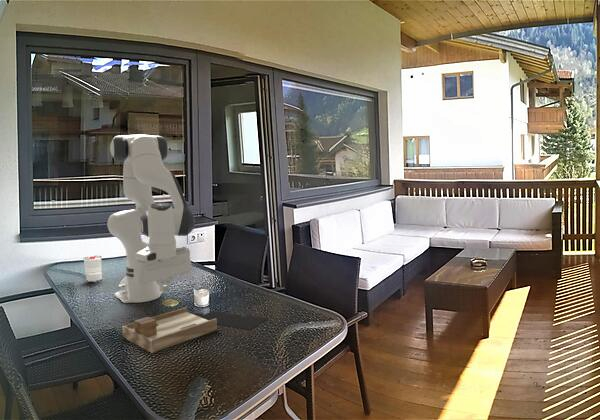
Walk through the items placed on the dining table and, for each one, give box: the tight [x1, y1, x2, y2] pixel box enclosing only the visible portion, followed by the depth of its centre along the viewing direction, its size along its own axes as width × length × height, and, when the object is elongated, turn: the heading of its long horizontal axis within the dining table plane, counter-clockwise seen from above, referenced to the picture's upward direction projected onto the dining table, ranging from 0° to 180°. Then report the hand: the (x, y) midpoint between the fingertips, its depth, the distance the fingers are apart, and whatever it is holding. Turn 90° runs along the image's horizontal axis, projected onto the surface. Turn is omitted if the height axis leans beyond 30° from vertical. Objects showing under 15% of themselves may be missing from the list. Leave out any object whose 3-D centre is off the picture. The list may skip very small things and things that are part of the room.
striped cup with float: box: [83, 255, 103, 281], centre depth 235 cm, size 10×8×12 cm
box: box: [121, 306, 218, 354], centre depth 163 cm, size 20×25×4 cm
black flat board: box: [192, 310, 269, 331], centre depth 177 cm, size 12×1×30 cm
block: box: [133, 316, 157, 337], centre depth 156 cm, size 5×5×5 cm
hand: (164, 290), depth 161 cm, fingers closed
